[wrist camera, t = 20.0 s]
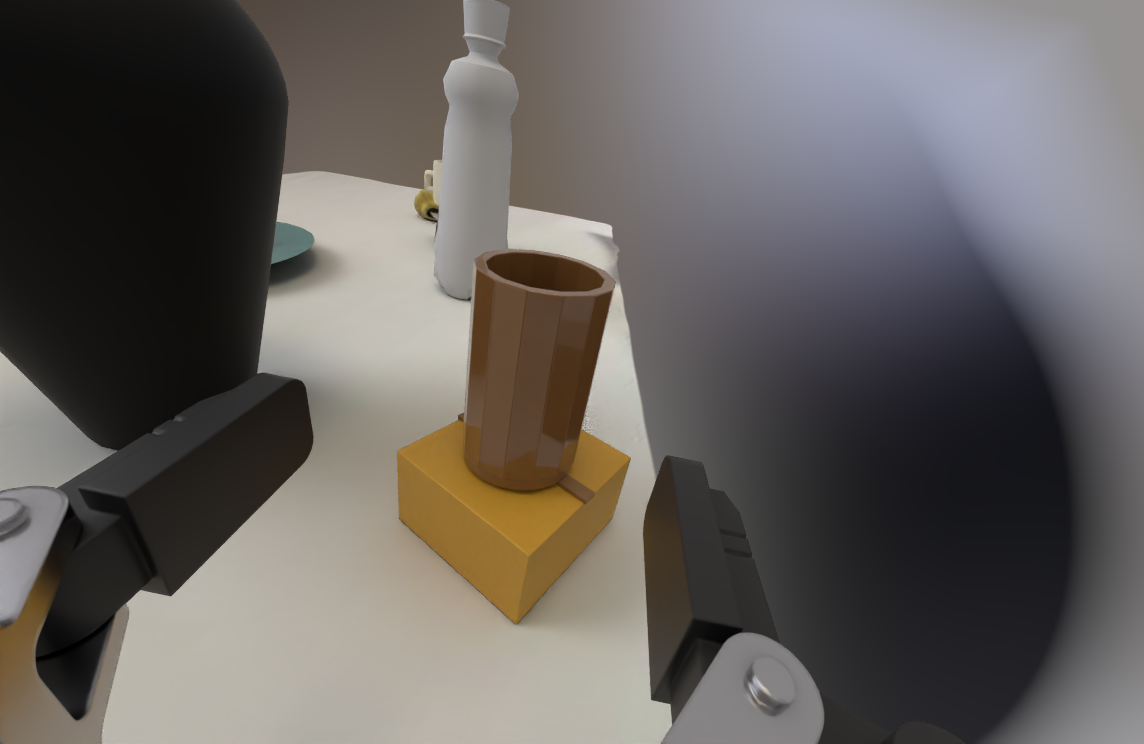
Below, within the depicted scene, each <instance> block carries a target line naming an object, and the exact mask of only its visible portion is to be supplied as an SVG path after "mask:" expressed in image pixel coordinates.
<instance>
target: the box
mask: <svg viewBox="0 0 1144 744" xmlns="http://www.w3.org/2000/svg"><path fill="white" fill-rule="evenodd" d="M458 419H459V420H458V421H456V422H454V423H452V424H450V425H448V426H446V427H444V428H442V429H440V430H438V431H436V432H434V433H432V434H430V435H428V436H426V437H424V438H422V439H420V440H418V441H416V442H414V443H412V444H410V445H408V446H406V447H404V448H402V449H400V450H398V451H397V462H398V496H399V519H400V520H401V521H402V522H404V523H405V524H406V525H407V526H408V527H409V528H410V529H411V530H412V531H414V532H415V533H416V534H417V535H418V536H419V537H420V538H421V539H422V540H423V541H425V542H426V543H427V544H428V545H429V546H430V547H431V548H432V549H433V550H435V551H436V552H437V553H438V554H439V555H440V556H441V557H442V558H443V559H444V560H446V561H447V562H448V563H449V564H450V565H451V566H452V567H453V568H454V569H456V570H457V571H458V572H459V573H460V574H461V575H462V576H463V577H464V578H465V579H467V580H468V581H469V582H470V583H471V584H472V585H473V586H474V587H475V588H477V589H478V590H479V591H480V592H481V593H482V594H483V595H484V596H485V597H486V598H488V599H489V600H490V601H491V602H492V603H493V604H494V605H495V606H496V607H497V608H499V609H500V610H501V611H502V612H503V613H504V614H505V615H506V616H507V617H509V618H510V619H511V620H512V621H513V622H514V623H515V624H517V623H518V622H519V621H520V620H521V619H522V618H523V617H524V615H525V614H526V613H527V612H528V611H529V610H530V609H531V608H532V607H533V605H534V604H535V603H536V602H537V601H538V600H539V599H540V598H541V597H542V595H543V594H544V593H545V592H546V591H547V590H548V589H549V588H550V587H551V585H552V584H553V583H554V582H555V581H556V580H557V579H558V578H559V577H560V575H561V574H562V573H563V572H564V571H565V570H566V569H567V568H568V567H569V566H570V564H571V563H572V562H573V561H574V560H575V559H576V558H577V557H578V556H579V554H580V553H581V552H582V551H583V550H584V549H585V548H586V547H587V546H588V544H589V543H590V542H591V541H592V540H593V539H594V538H595V537H596V536H597V534H598V533H599V532H600V531H601V530H602V529H603V528H604V527H605V526H606V525H607V523H608V522H609V521H610V520H611V519H612V518H613V514H614V511H615V508H616V505H617V502H618V498H619V495H620V492H621V489H622V485H623V482H624V479H625V476H626V473H627V469H628V466H629V463H630V460H631V458H630V457H629V456H627V455H625V454H623V453H622V452H620V451H618V450H616V449H615V448H613V447H611V446H610V445H608V444H606V443H604V442H603V441H601V440H599V439H597V438H596V437H594V436H592V435H591V434H589V433H587V432H585V431H584V430H582V431H581V435H580V440H579V444H578V448H577V452H576V456H575V460H574V464H573V467H572V469H571V470H570V472H569V473H568V474H567V475H566V476H565V477H564V478H563V479H562V480H560V481H559V482H557V483H555V484H553V485H551V486H548V487H546V488H542V489H537V490H525V491H522V490H511V489H506V488H502V487H498V486H496V485H493V484H491V483H489V482H486V481H485V480H483V479H481V478H480V477H479V476H477V475H476V474H475V473H474V472H473V471H472V470H471V469H470V468H469V466H468V465H467V463H466V461H465V459H464V455H463V423H464V413H462V414H460V415H458Z"/></svg>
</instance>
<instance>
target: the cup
mask: <svg viewBox="0 0 1144 744" xmlns="http://www.w3.org/2000/svg"><path fill="white" fill-rule="evenodd" d="M615 283H616V281H615V280H614V279H613V278H612V277H611V276H610V275H609V274H608V273H607V272H605V271H604V270H602V269H600V268H597V267H595V266H593V265H591V264H589V263H587V262H584V261H581V260H577V259H574V258H570V257H567V256H563V255H559V254H553V253H547V252H541V251H535V250H534V251H533V250H515V249H505V250H497V251H490V252H485V253H483V254H481V255H480V256H478V257H476V258H475V259H474V265H473V281H472V296H471V312H470V328H469V344H468V359H467V375H466V391H465V407H464V423H463V455H464V459H465V461H466V463H467V465H468V466H469V468H470V469H471V470H472V471H473V472H474V473H475V474H476V475H477V476H479V477H480V478H481V479H483V480H485V481H486V482H489V483H491V484H493V485H496V486H498V487H502V488H506V489H511V490H522V491H525V490H537V489H542V488H546V487H548V486H551V485H553V484H555V483H557V482H559V481H560V480H562V479H563V478H564V477H565V476H566V475H567V474H568V473H569V472H570V470H571V469H572V467H573V464H574V460H575V456H576V452H577V448H578V444H579V440H580V435H581V431H582V427H583V422H584V418H585V414H586V409H587V405H588V401H589V396H590V392H591V388H592V383H593V379H594V375H595V370H596V366H597V361H598V357H599V353H600V348H601V344H602V340H603V335H604V331H605V327H606V322H607V318H608V314H609V309H610V305H611V301H612V296H613V292H614V288H615Z"/></svg>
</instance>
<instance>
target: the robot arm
mask: <svg viewBox="0 0 1144 744" xmlns="http://www.w3.org/2000/svg"><path fill="white" fill-rule="evenodd" d="M312 445H313V431H312V424H311V418H310V412H309V405H308V399H307V392H306V388H305V385H304V384H303V382H302V381H300V380H298V379H293V378H288V377H283V376H278V375H273V374H268V373H259V374H257V375H255V376H253V377H251V378H250V379H248V380H247V381H245V382H244V383H242V384H240V385H239V386H237V387H236V388H234V389H232V390H229V391H227V392H224V393H221V394H218V395H215V396H213V397H210V398H207V399H204V400H201V401H199V402H197V403H196V404H194V405H193V406H191V407H189V408H188V409H186V410H184V411H183V412H181V413H179V414H178V415H176V416H175V418H174V420H168V421H166V422H165V423H163V424H161V425H160V426H158V427H157V428H155V429H153V433H147V434H145V435H143V436H142V437H140V438H139V439H137V440H135V441H134V442H132V443H130V444H129V445H127V446H126V447H124V448H122V449H121V450H119V451H117V452H116V453H114V454H112V455H111V456H109V457H108V458H106V459H104V460H103V461H101V462H99V463H98V464H96V465H94V466H93V467H91V468H90V469H88V470H86V471H85V472H83V473H81V474H80V475H78V476H76V477H75V478H73V479H72V480H70V481H68V482H67V483H65V484H63V485H62V486H60V487H58V488H53V487H47V486H28V487H20V488H13V489H8V490H4V491H0V744H102V726H103V721H104V717H105V713H106V709H107V704H108V700H109V696H110V692H111V688H112V684H113V680H114V676H115V672H116V668H117V664H118V659H119V655H120V651H121V647H122V643H123V639H124V635H125V631H126V627H127V623H128V619H129V608H128V606H127V604H126V603H127V602H128V601H129V600H130V599H131V598H132V597H133V596H134V595H135V594H136V593H137V592H138V591H140V590H143V591H148V592H153V593H158V594H162V595H167V596H172V595H173V594H174V593H175V592H176V591H177V590H178V589H179V588H180V587H181V586H182V585H183V584H184V583H185V582H186V581H187V580H188V579H189V578H190V577H191V576H192V575H193V574H194V573H195V572H196V571H197V570H198V569H199V568H200V567H201V566H202V565H203V564H204V563H205V562H206V561H207V560H208V559H209V558H210V557H211V556H212V555H213V554H214V553H215V552H216V551H217V550H218V549H219V548H220V547H221V546H222V545H223V544H224V543H225V542H226V541H227V540H228V539H229V538H230V537H231V536H232V535H233V534H234V533H235V532H236V531H237V530H238V529H239V528H240V527H241V526H242V525H243V524H244V523H245V522H246V521H247V520H248V519H249V518H250V517H251V516H252V515H253V514H254V513H255V512H256V511H257V510H258V509H259V508H260V507H261V506H262V505H263V504H264V503H265V502H266V501H267V500H268V499H269V498H270V497H271V496H272V495H273V494H274V493H275V492H276V491H277V490H278V489H279V488H280V487H281V486H282V485H283V483H284V482H285V481H286V480H287V479H288V478H289V477H290V476H291V475H292V474H293V473H294V472H295V471H296V470H297V469H298V468H299V467H300V466H301V465H302V464H303V463H304V462H305V461H306V459H307V458H308V456H309V454H310V451H311V449H312ZM643 540H644V561H645V582H646V602H647V623H648V644H649V665H650V686H651V700H653V701H658V702H663V703H668V704H671V715H672V727H671V728H670V730H669V731H668V733H667V735H666V736H665V738H664V739H663V741H662V742H661V744H965V743H964V742H963V741H961V740H960V739H959V738H957V737H956V736H954V735H953V734H951V733H949V732H948V731H946V730H944V729H942V728H940V727H938V726H936V725H933V724H930V723H927V722H922V721H909V722H906V723H904V724H903V725H901V726H900V727H899V728H898V729H897V730H896V731H894V732H893V733H890V732H889V731H887V730H885V729H883V728H881V727H879V726H878V725H876V724H874V723H872V722H870V721H868V720H866V719H865V718H863V717H861V716H859V715H857V714H856V713H854V712H852V711H850V710H848V709H846V708H844V707H843V706H841V705H839V704H837V703H835V702H834V701H832V700H830V699H829V698H827V697H826V696H824V695H823V694H822V693H820V692H819V691H818V689H817V687H816V685H815V682H814V681H813V679H812V677H811V676H810V674H809V672H808V671H807V670H806V669H805V667H804V666H803V665H802V663H801V662H800V661H799V660H798V659H797V658H796V657H795V656H794V655H793V654H792V653H791V652H789V650H787V649H786V648H785V647H783V646H782V645H781V644H780V641H779V639H778V636H777V633H776V630H775V626H774V623H773V620H772V616H771V613H770V610H769V607H768V604H767V601H766V597H765V594H764V591H763V587H762V584H761V581H760V578H759V574H758V571H757V568H756V565H755V562H754V559H752V552H751V549H750V545H749V542H748V539H746V533H745V529H744V526H743V523H742V520H741V517H740V513H739V512H738V511H737V509H736V507H735V506H734V505H733V503H732V502H731V501H730V499H729V498H728V497H727V495H726V494H725V493H724V492H723V491H718V490H714V489H709V485H708V481H707V477H706V473H705V469H704V465H703V464H702V463H701V462H697V461H692V460H687V459H683V458H678V457H673V456H666V457H665V458H664V460H663V463H662V465H661V468H660V471H659V474H658V476H657V479H656V482H655V485H654V488H653V491H652V494H651V496H650V499H649V502H648V505H647V509H646V513H645V519H644V528H643Z"/></svg>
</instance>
